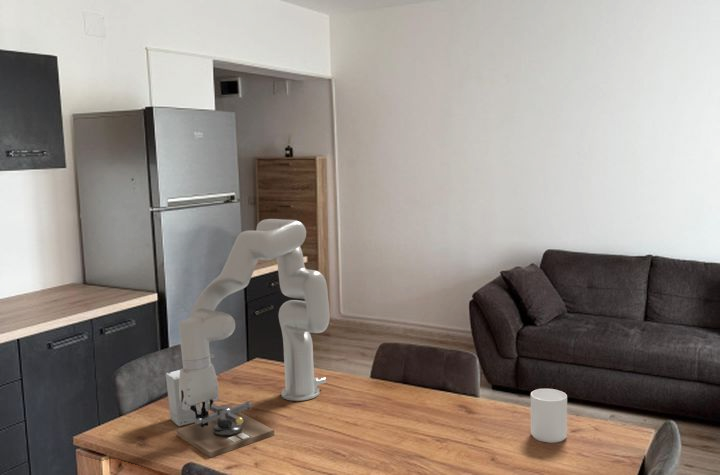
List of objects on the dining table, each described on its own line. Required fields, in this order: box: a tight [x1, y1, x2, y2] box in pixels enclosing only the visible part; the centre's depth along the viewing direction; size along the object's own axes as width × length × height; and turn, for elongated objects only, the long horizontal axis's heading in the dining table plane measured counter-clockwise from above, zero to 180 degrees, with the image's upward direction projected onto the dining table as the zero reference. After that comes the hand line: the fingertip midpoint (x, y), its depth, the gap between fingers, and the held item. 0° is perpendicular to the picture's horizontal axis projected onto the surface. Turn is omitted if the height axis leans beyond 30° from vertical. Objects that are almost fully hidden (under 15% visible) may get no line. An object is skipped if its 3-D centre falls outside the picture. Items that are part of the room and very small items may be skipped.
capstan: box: [194, 401, 253, 437], centre depth 188 cm, size 18×18×6 cm
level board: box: [176, 411, 275, 458], centre depth 189 cm, size 20×20×2 cm
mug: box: [530, 388, 568, 444], centre depth 181 cm, size 10×12×12 cm
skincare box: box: [165, 369, 196, 427], centre depth 200 cm, size 8×6×15 cm
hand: (202, 424), depth 186 cm, fingers closed
